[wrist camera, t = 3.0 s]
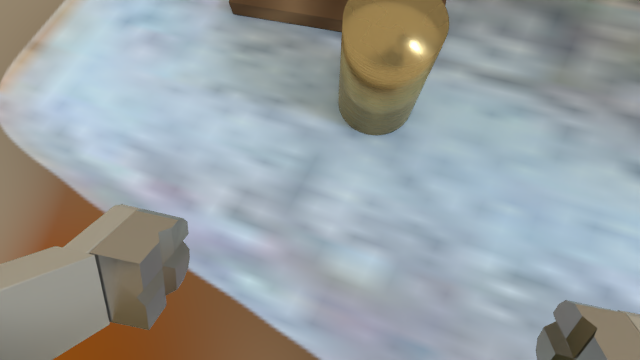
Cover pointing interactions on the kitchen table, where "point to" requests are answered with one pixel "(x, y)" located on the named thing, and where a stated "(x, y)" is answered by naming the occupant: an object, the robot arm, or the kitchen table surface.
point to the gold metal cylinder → (387, 59)
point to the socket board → (295, 11)
